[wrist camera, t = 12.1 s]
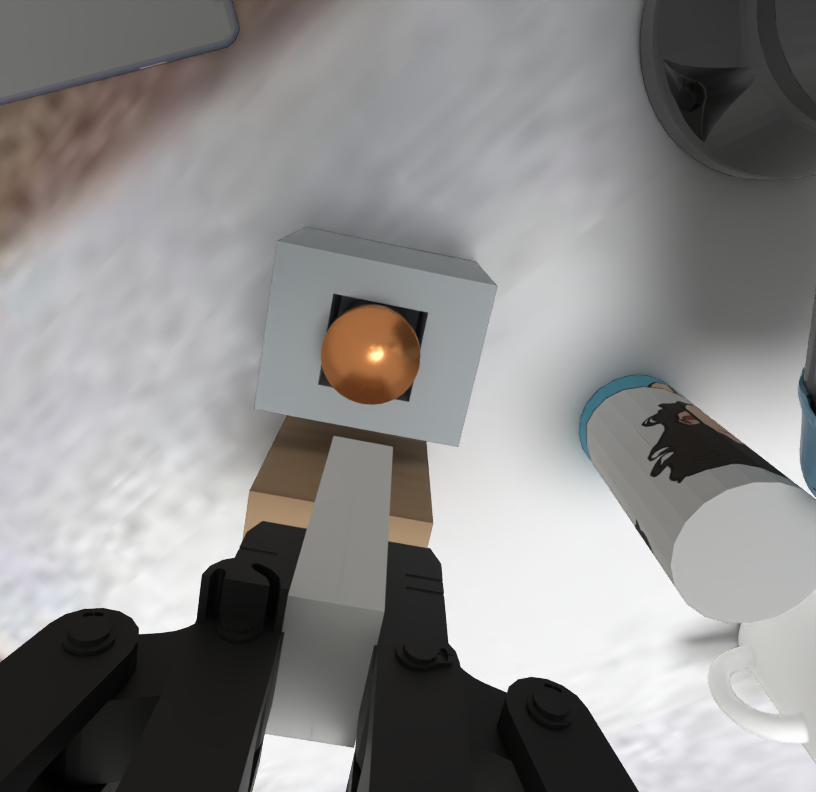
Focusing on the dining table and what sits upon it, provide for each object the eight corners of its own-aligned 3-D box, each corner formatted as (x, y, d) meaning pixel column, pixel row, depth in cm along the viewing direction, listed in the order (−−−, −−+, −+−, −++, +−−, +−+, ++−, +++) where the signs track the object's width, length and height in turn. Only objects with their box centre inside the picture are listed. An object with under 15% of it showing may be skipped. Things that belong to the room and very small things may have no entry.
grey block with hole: (306, 227, 37) (277, 240, 29) (476, 262, 38) (497, 285, 29) (286, 359, 40) (254, 408, 31) (446, 390, 40) (458, 447, 32)
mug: (680, 687, 48) (752, 818, 38) (680, 591, 45) (757, 704, 35) (847, 669, 47) (963, 796, 38) (856, 570, 45) (984, 680, 35)
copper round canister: (343, 276, 35) (329, 299, 28) (424, 293, 35) (429, 319, 28) (330, 355, 36) (313, 394, 29) (408, 370, 36) (409, 412, 30)
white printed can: (646, 491, 43) (768, 646, 28) (558, 447, 42) (639, 585, 27) (707, 404, 41) (869, 524, 27) (616, 356, 40) (735, 454, 26)
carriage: (296, 395, 40) (249, 490, 28) (424, 419, 41) (433, 523, 28) (283, 483, 42) (233, 607, 30) (405, 505, 42) (406, 636, 30)
